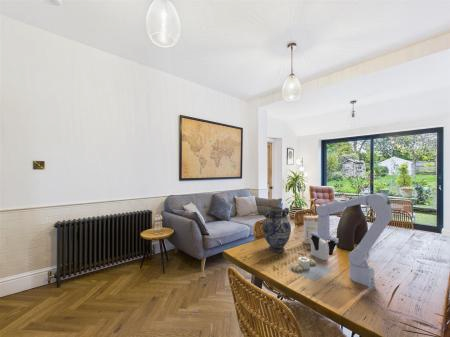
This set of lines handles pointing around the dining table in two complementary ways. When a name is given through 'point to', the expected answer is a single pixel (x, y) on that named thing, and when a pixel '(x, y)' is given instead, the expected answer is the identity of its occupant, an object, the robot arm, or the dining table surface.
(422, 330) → the dining table surface
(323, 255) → the photo printer
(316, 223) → the coffeecake box
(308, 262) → the octagonal pipe segment
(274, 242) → the decorative vase
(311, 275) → the gear board
